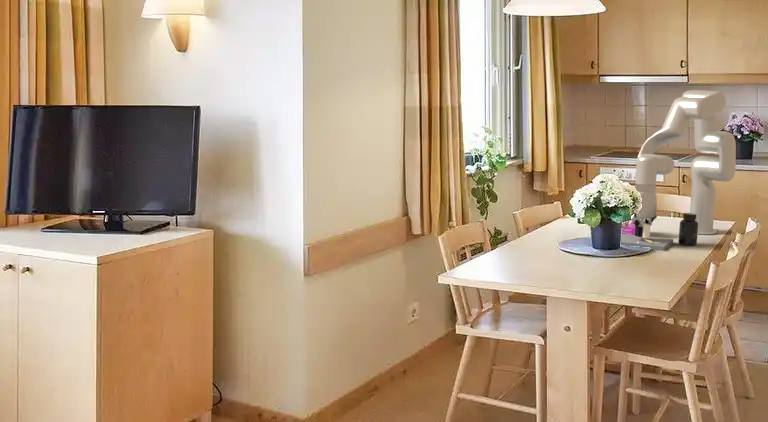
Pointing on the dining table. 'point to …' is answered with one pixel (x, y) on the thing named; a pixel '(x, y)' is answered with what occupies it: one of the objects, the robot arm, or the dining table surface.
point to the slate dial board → (646, 242)
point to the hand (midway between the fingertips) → (642, 235)
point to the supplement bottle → (688, 230)
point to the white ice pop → (645, 232)
